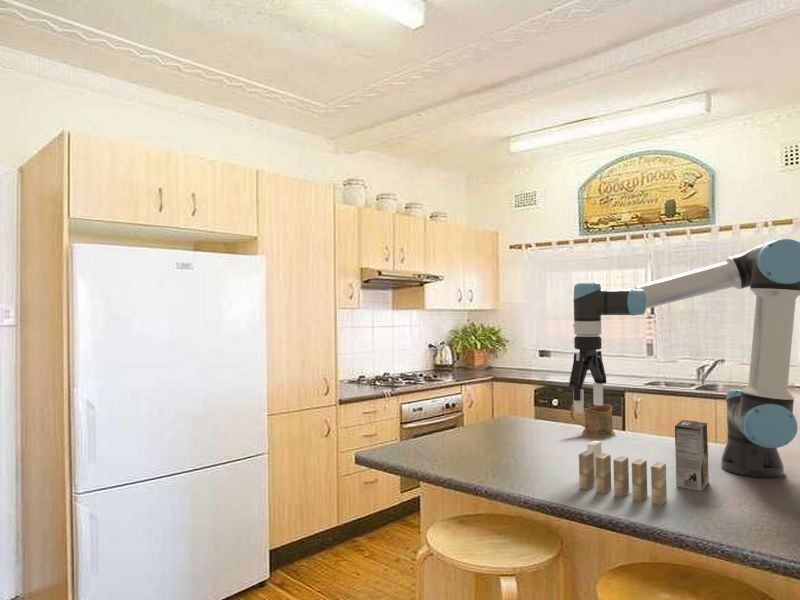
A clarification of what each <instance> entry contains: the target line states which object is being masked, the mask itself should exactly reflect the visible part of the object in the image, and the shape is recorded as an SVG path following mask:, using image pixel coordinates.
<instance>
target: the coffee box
mask: <svg viewBox="0 0 800 600" xmlns="http://www.w3.org/2000/svg"><path fill="white" fill-rule="evenodd" d="M708 443H709V441H708V422H701V421H700V422H699V421H695V420H688V419H687V420H685V419H682V420H681V421H679V422H678V423H677V424H675V425H674V444H675V446H674V447H675V449H674V450H675V486H676V487H678V488H684V489H688V490H694V491H698V492H703V490H704V489H706V488H705V487H706V486H707V484H708V483H709V482H710V480H709V479H710V476H709V449H708V448H709V445H708Z"/></svg>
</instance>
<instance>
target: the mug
mask: <svg viewBox="0 0 800 600" xmlns="http://www.w3.org/2000/svg"><path fill="white" fill-rule="evenodd" d="M569 408H570V412H569V413H570V418H571V420H572V421H573V422H575V423H578V424H580V425H581V426H582V427H583V428H584V429H583V430H582V434H583V435H585V436H586V437H593V438H613V437H615V436H616V432H614V430H613V407H612V405H611V404H603V406H599V405H594V406H593V407H585V408H584V412H583V413H584V424H583V423H582V422H580V421H577V420H576V419H575V417H574V409H573V404H572V405H570V407H569Z"/></svg>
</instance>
